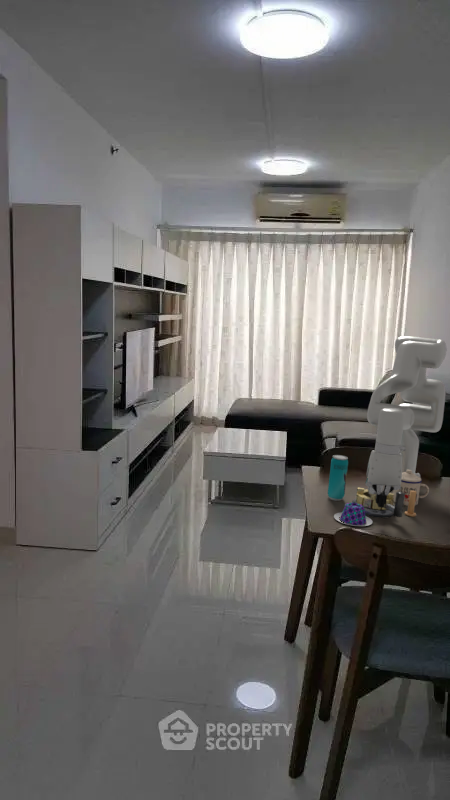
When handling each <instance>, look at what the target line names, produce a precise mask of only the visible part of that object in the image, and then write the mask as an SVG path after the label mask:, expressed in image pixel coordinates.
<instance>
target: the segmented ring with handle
mask: <svg viewBox="0 0 450 800" xmlns="http://www.w3.org/2000/svg"><path fill="white" fill-rule="evenodd" d="M367 494H368V488H367V489H365V488H364V487H357V489H356V494H355V499H356V503H358V504H361V505H362V506H364V507H367V508H372V509H379V510H380V509H382V510H384V509H387V510H389V511H391V512H393V513H394V514H393V515H394V516H393V517H396V518H402V517H403V513H404V512H403V510H404V506H405V505H404V497H405V493H404V492H396V499H395V502H394V501H393V500H394V498H393V497H394V494H393V492H392V493H391V492H390V493H389V494H388V495H387V500H386V504H384V507H378V505H377V503H376V494H371V498H370V497H367ZM393 505H394V506H393Z"/></svg>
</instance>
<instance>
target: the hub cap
mask: <svg viewBox="0 0 450 800" xmlns="http://www.w3.org/2000/svg"><path fill="white" fill-rule="evenodd" d="M375 485H376V484H375ZM384 487H385V485H381V492H383V490H384ZM367 489H368V494H367V497H370V498H371V494H377V492H376V491H375V490H374V489H373V488H371V487H368V486H367ZM351 503H356V498H354V499H352V501H351ZM393 506H395V504H393ZM363 507H364V506H363ZM364 509H365V516H367V517H369V518H378V519H380V518H381V519H387V518H392V517H395V516H394V515H393V514H394V513H393V512H391V511H389V510H387V509H384V510H382V509H380V510H379V509H372V508H367V507H364Z"/></svg>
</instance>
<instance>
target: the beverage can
mask: <svg viewBox="0 0 450 800" xmlns="http://www.w3.org/2000/svg"><path fill="white" fill-rule="evenodd" d="M348 459H349V458H348V456H346V455H342V454H334V455H332V458H331V460H330V470H329V477H328V478H329V480H328V487H327V496H328V499H330V500H332V501H337V502H340V501H343V499H344V497H345V492H346V485H347V476H348V475H347V474H348V467H349V460H348Z"/></svg>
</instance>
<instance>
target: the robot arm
mask: <svg viewBox="0 0 450 800" xmlns="http://www.w3.org/2000/svg"><path fill="white" fill-rule="evenodd" d="M394 349H395V353H396V354H395V359H394V361H393V362H394V363H393V367H392V371H391V375H390V377H389V378H387V379H385V380H383V381H382V382H380V384H379V385H378V386H376V388H375V389H374V390H373V392H372V395H371V397H370V401H369V404H368V407H367V414H366V418H367V421H368V423H369V424H370V425H371V426H374V427H376V428H377V429H376V435H375V436H376V437H375V446H374V450H371V452H370V456H369V458H368V463H367V469H366V481H365V483H364V484H365V486H366V487H367V488H368V487H371V488H373V489H374V490H375V491H376V492H377V494H376V503H377V505H378V507H384V504H386V500H387V495H388V494H389V493H391V492H392V493H393V491H394V490H399V489H401V485H400V484H401V479H402V473H403V472H406V470H408V469H409V470H412V473H414V474H415V475H416V476H418V477H420V478H421V474H420V473H419V472H417V473H416V468H417V462H418V461H417V460H418V453H419V448H420V440H419V437H418V436H417V434H416V432H415V431H421V432H426V433H427V432H428V433H437V432H439V431H440V430H441V428H442V425H443V421H444V412H445V402H446V392H447V391H446V385H445V383H444V382H443V381H442V380H439V379H435V378H427V369H439V368H440V367H441V366H442V363H443V362H444V361H445V359H446V355H447V351H448V350H447V349H448V348H447V343H446V342H445V340H443V339H441V338H440V339H439V338H428V337H421V336H411V335H410V336H409V335H405V336H404V335H402V336H398V337H397V338H396V339H395V342H394ZM397 393H398V394H399V393H400V395H399V396H400V398H401V399H402V400H403V401H404V402H406V403H400V404H398V405H397V404H393V403H392V404H391V403H384V402H381V401H382V400H384V398H386V397H388V396H390V395H395V394H397ZM375 484H376V485H375ZM381 485H384V487H383V492H381Z"/></svg>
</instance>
